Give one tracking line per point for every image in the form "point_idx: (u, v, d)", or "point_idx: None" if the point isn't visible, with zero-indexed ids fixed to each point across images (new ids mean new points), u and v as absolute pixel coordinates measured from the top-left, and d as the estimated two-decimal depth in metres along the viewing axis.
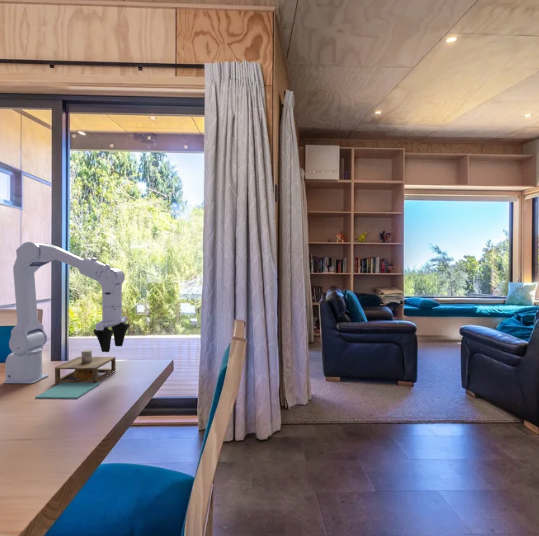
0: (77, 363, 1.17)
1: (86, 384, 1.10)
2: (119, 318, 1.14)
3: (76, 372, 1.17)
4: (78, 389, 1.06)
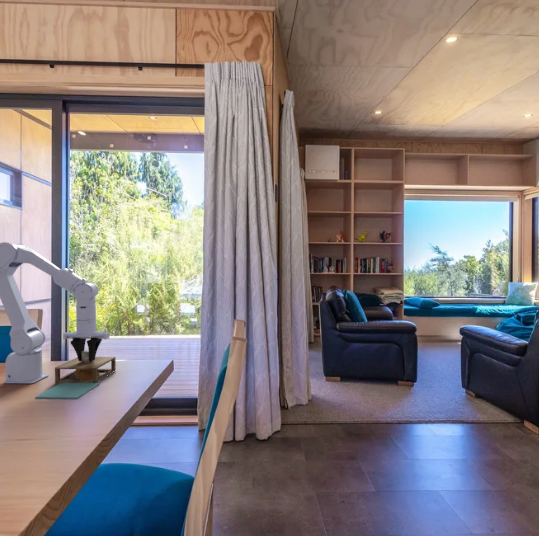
0: (77, 363, 1.17)
1: (86, 384, 1.10)
2: (79, 332, 1.16)
3: (77, 372, 1.17)
4: (78, 389, 1.06)
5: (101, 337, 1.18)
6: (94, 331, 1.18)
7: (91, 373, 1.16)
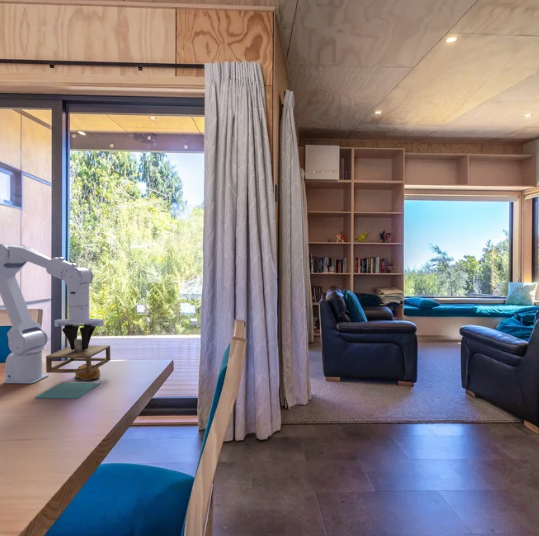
0: (70, 352, 1.11)
1: (86, 384, 1.10)
2: (72, 319, 1.10)
3: None
4: (78, 389, 1.06)
5: (95, 324, 1.12)
6: (87, 318, 1.13)
7: (92, 373, 1.16)
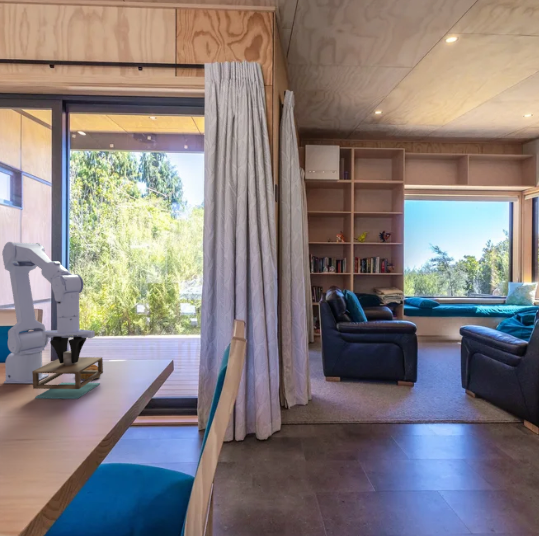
0: (58, 365, 1.04)
1: (86, 384, 1.10)
2: (60, 330, 1.03)
3: None
4: (78, 389, 1.06)
5: (85, 336, 1.05)
6: (77, 329, 1.05)
7: None
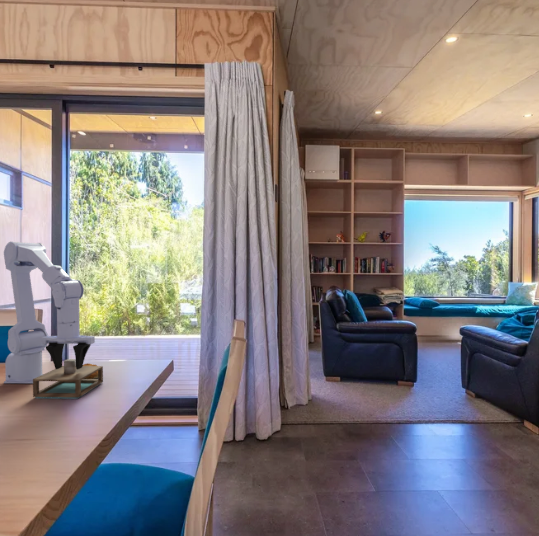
0: (59, 374, 1.04)
1: (86, 384, 1.10)
2: (60, 336, 1.03)
3: None
4: None
5: (85, 342, 1.05)
6: (77, 335, 1.05)
7: None
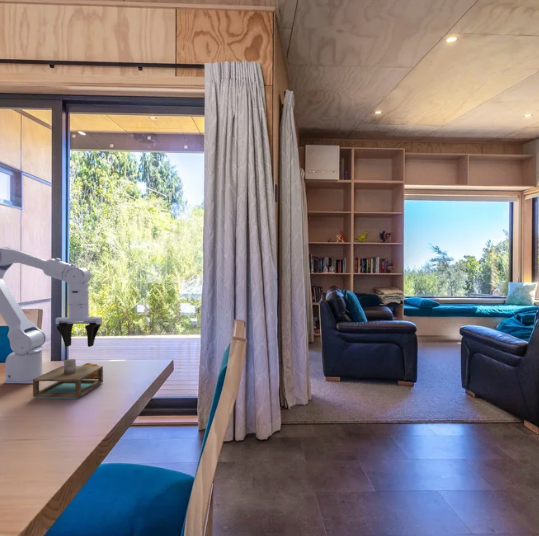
0: (59, 374, 1.04)
1: (86, 384, 1.10)
2: (72, 317, 1.15)
3: None
4: None
5: (94, 322, 1.17)
6: (87, 316, 1.17)
7: (95, 372, 1.17)
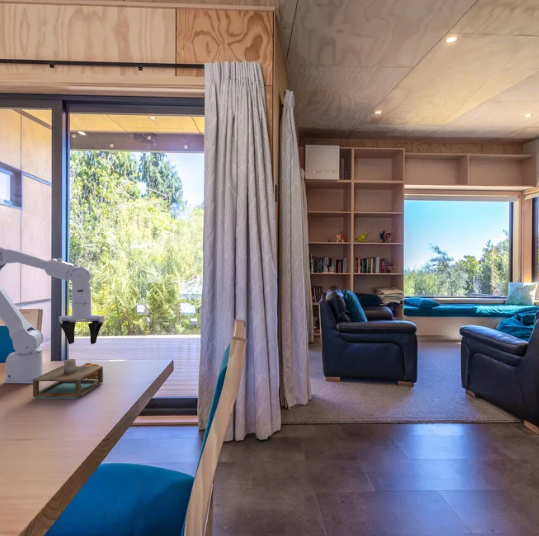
0: (59, 374, 1.04)
1: (86, 384, 1.10)
2: (75, 315, 1.18)
3: None
4: None
5: (96, 320, 1.21)
6: (89, 314, 1.21)
7: (95, 372, 1.17)
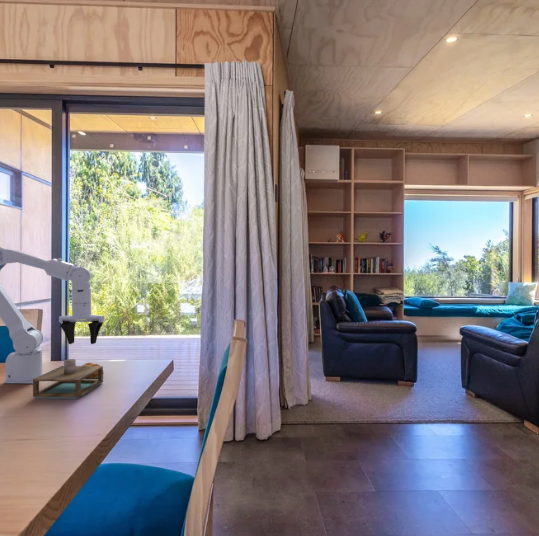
0: (59, 374, 1.04)
1: (86, 384, 1.10)
2: (75, 315, 1.18)
3: None
4: None
5: (96, 320, 1.21)
6: (89, 314, 1.21)
7: (96, 371, 1.17)
